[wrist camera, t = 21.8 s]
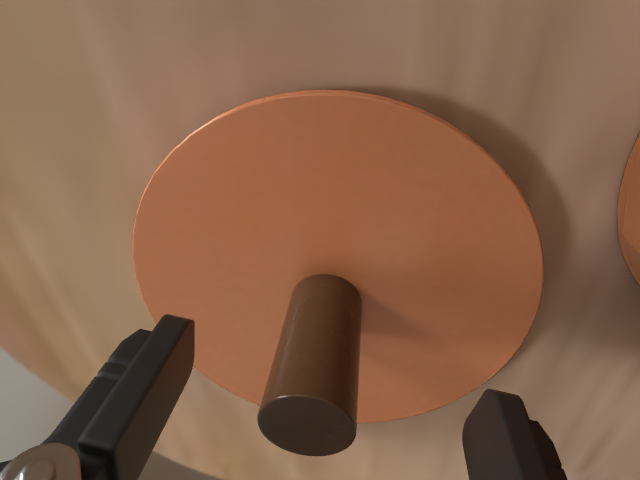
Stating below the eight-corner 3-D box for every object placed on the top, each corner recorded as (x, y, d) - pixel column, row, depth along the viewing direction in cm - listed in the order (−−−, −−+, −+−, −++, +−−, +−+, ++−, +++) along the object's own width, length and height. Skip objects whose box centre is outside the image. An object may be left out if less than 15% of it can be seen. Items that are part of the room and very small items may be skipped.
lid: (154, 362, 18) (73, 497, 13) (135, 34, 11) (-66, 65, 6) (444, 428, 18) (470, 588, 13) (625, 146, 11) (834, 272, 6)
